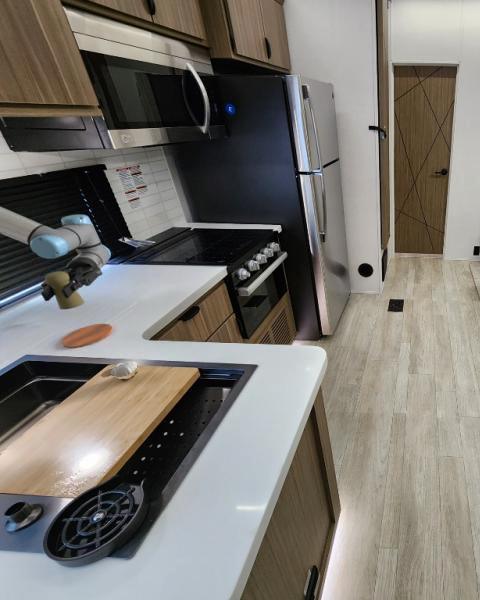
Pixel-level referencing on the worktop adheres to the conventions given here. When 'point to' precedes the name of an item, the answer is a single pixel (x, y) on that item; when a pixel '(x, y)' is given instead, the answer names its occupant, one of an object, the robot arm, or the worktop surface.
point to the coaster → (86, 335)
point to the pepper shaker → (58, 283)
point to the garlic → (124, 368)
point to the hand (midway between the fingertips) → (55, 295)
